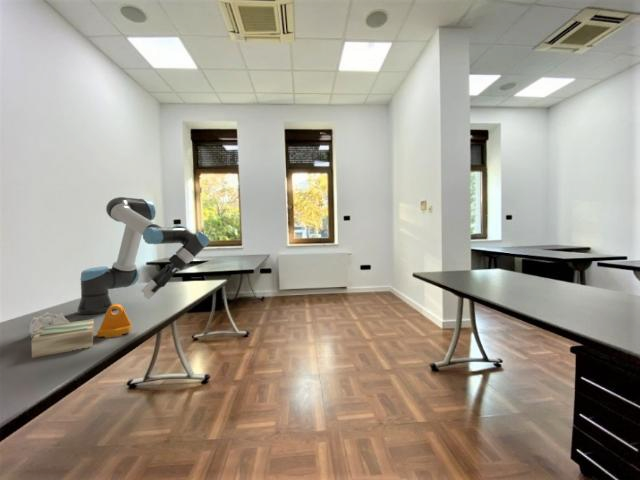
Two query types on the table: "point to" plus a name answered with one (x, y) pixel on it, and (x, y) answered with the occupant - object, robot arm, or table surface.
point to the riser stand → (63, 338)
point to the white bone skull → (46, 322)
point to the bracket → (114, 322)
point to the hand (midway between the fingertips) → (144, 295)
